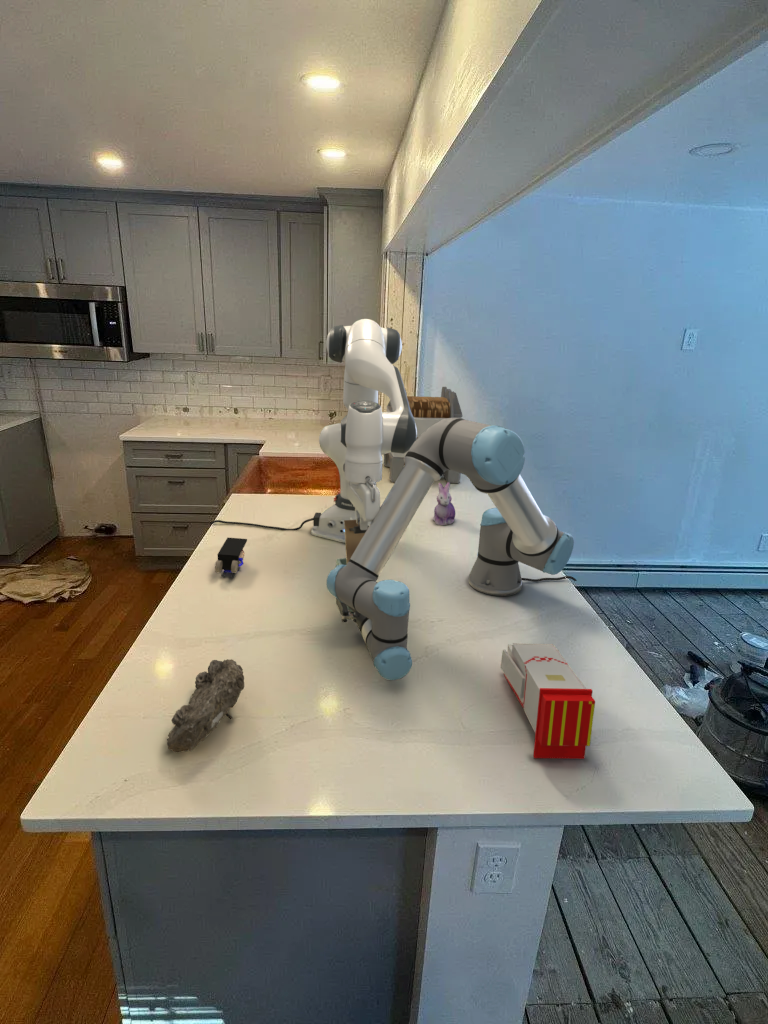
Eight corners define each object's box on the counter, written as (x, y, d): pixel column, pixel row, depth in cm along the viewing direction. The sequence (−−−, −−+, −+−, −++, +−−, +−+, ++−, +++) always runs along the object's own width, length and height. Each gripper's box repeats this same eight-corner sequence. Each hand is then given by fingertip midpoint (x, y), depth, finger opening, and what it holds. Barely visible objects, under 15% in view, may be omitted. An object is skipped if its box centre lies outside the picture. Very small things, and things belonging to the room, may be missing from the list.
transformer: (382, 463, 289) (386, 382, 275) (445, 464, 293) (451, 384, 279) (390, 482, 257) (394, 392, 243) (460, 483, 261) (468, 394, 247)
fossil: (192, 660, 117) (244, 628, 112) (224, 691, 120) (276, 661, 115) (142, 746, 98) (202, 712, 93) (182, 779, 101) (242, 748, 96)
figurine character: (238, 584, 162) (249, 557, 175) (236, 562, 158) (247, 536, 172) (215, 584, 161) (227, 556, 175) (212, 561, 158) (225, 535, 171)
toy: (549, 626, 126) (605, 697, 97) (544, 681, 129) (596, 766, 100) (495, 625, 126) (534, 696, 96) (491, 680, 128) (528, 765, 99)
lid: (344, 520, 145) (350, 520, 137) (364, 519, 146) (372, 519, 138) (347, 580, 145) (354, 583, 137) (367, 578, 146) (376, 581, 138)
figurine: (440, 527, 207) (443, 488, 202) (426, 518, 215) (428, 480, 210) (462, 524, 211) (465, 485, 206) (446, 515, 220) (450, 478, 215)
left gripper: (388, 483, 125) (385, 541, 129) (366, 461, 143) (364, 513, 148) (360, 484, 123) (359, 543, 127) (341, 462, 142) (340, 514, 146)
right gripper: (336, 647, 128) (319, 598, 149) (414, 638, 133) (387, 592, 153) (337, 618, 125) (319, 572, 146) (416, 610, 130) (388, 567, 151)
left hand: (361, 527), depth 138 cm, fingers closed
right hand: (354, 582), depth 150 cm, fingers closed on chest, 5 cm apart
